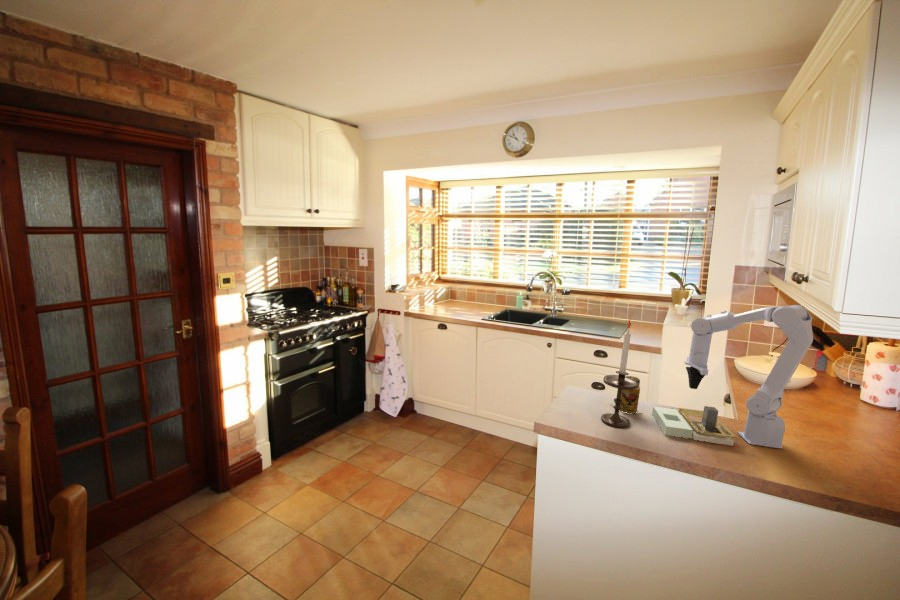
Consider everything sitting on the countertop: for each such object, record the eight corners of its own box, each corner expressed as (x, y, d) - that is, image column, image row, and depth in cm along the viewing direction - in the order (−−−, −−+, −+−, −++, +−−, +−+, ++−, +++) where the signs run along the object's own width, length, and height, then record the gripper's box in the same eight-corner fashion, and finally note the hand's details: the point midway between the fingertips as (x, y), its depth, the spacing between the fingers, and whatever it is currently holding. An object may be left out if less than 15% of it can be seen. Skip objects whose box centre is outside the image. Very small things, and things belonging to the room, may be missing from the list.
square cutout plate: (675, 417, 150) (676, 409, 149) (691, 438, 134) (692, 430, 134) (651, 414, 151) (653, 406, 151) (665, 435, 136) (666, 426, 135)
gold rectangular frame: (712, 417, 147) (713, 412, 147) (735, 441, 130) (736, 435, 130) (678, 413, 149) (678, 407, 149) (696, 436, 132) (697, 430, 132)
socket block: (718, 429, 142) (719, 423, 142) (733, 445, 132) (734, 438, 131) (682, 424, 144) (683, 418, 144) (694, 440, 134) (695, 432, 133)
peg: (715, 431, 141) (719, 405, 140) (725, 442, 133) (730, 415, 132) (688, 427, 143) (693, 401, 141) (697, 438, 135) (702, 411, 133)
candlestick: (603, 411, 150) (616, 314, 145) (635, 421, 145) (651, 319, 139) (594, 422, 142) (607, 318, 136) (628, 432, 136) (644, 324, 130)
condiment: (625, 414, 150) (630, 382, 148) (610, 404, 157) (614, 373, 155) (642, 413, 152) (647, 381, 150) (626, 403, 160) (631, 372, 158)
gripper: (680, 344, 158) (674, 379, 160) (694, 355, 144) (687, 394, 146) (701, 347, 157) (695, 382, 159) (717, 358, 143) (710, 397, 145)
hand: (693, 388), depth 152 cm, fingers closed
